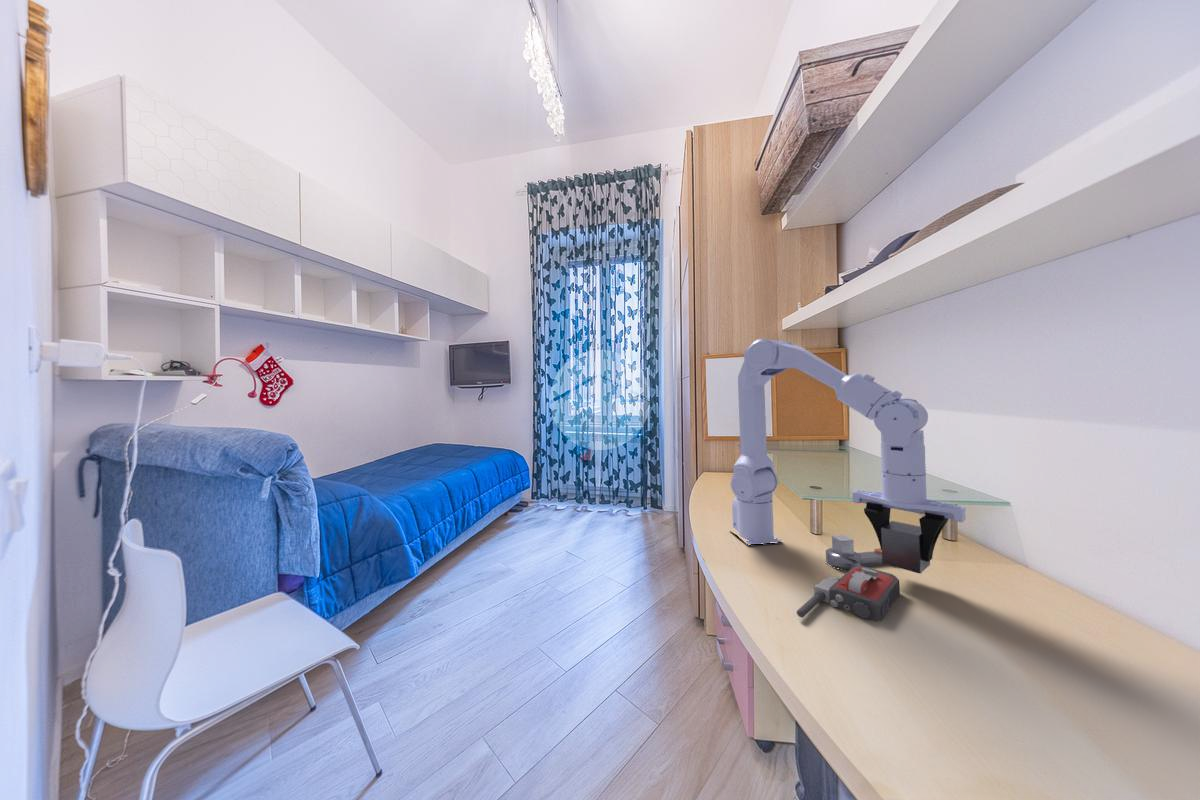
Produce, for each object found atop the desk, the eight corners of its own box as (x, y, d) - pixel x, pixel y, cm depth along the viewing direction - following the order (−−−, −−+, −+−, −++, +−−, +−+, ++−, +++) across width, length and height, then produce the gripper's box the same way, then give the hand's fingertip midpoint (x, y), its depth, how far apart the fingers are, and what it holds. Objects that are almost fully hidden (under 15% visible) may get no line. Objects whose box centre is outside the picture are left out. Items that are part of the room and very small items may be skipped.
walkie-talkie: (842, 574, 67) (791, 620, 54) (841, 550, 67) (790, 590, 54) (904, 593, 60) (863, 651, 47) (903, 565, 60) (861, 616, 47)
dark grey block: (882, 563, 63) (881, 527, 63) (893, 554, 66) (892, 520, 66) (920, 573, 59) (919, 535, 59) (930, 564, 62) (928, 528, 62)
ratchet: (840, 572, 67) (839, 544, 67) (819, 559, 72) (818, 533, 72) (924, 565, 68) (923, 537, 68) (897, 552, 74) (896, 527, 74)
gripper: (969, 475, 59) (972, 561, 59) (862, 463, 70) (865, 535, 70) (957, 482, 54) (960, 575, 55) (846, 469, 66) (848, 545, 66)
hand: (905, 553), depth 62 cm, fingers closed on dark grey block, 5 cm apart
